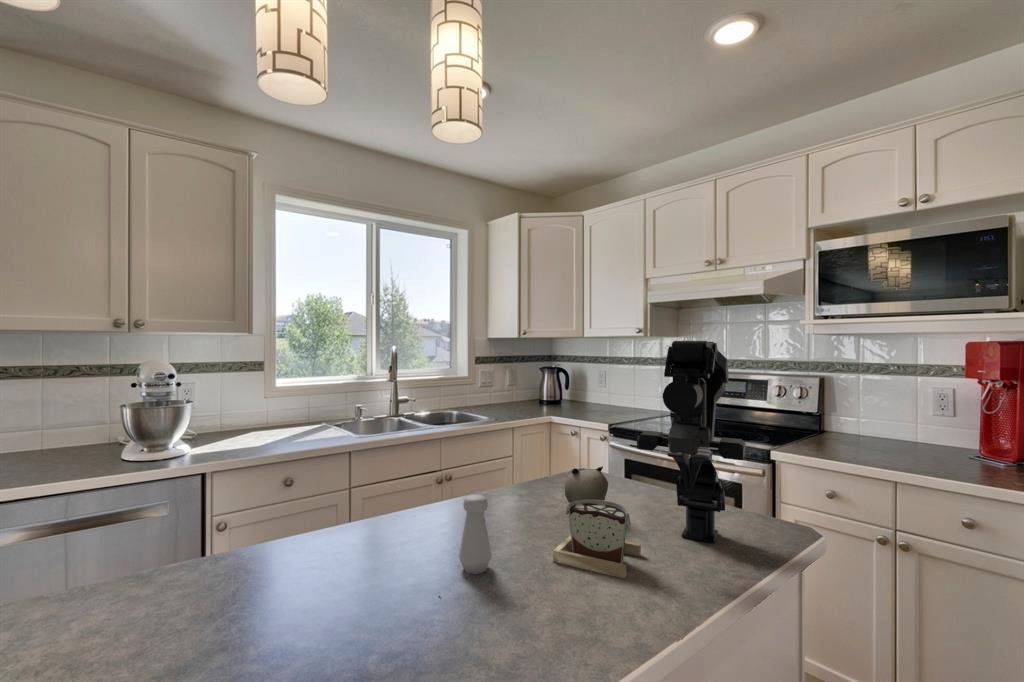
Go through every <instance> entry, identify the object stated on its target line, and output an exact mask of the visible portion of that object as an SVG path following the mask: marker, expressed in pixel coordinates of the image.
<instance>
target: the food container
mask: <svg viewBox="0 0 1024 682" xmlns="http://www.w3.org/2000/svg"><path fill="white" fill-rule="evenodd" d="M565 515H568V517H569V520H568V521H569V529H570V530H569V531H570V535H571V542H572V550H571V551H572V552H571V553H576V554H580V555H585V556H589V557H594V558H598V559H603V560H607V561H611V562H616V563H620V564H624V556H625V555H624V554H625V553H624V547H625V541H626V538H627V537H626V536H627V526H628V527H631V524H632V523H631V518H630V517H631V516H630V513H629V511H628V509H627V508H626V507H625V506H623V505H621V504H619V503H616V502H613V501H608V500H580V501H575V502H572V503H568V506H567V507H566V512H565Z"/></svg>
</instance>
